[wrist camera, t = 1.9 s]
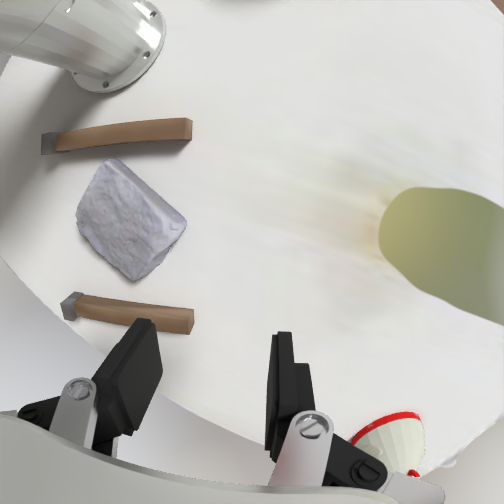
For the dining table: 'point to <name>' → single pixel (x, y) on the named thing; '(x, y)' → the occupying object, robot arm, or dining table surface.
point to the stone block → (127, 220)
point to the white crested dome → (394, 442)
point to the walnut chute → (111, 308)
